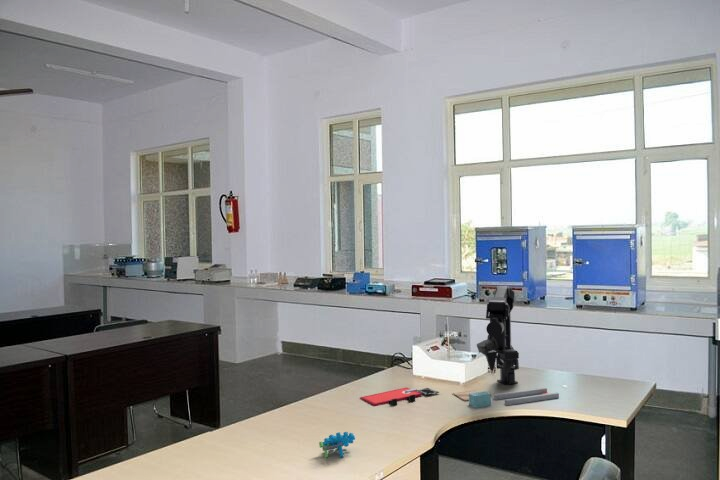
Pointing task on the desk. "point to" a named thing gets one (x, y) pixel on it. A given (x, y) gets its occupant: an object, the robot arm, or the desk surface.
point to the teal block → (479, 399)
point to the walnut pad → (464, 395)
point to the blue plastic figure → (337, 442)
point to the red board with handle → (396, 396)
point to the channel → (542, 391)
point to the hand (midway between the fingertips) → (498, 373)
